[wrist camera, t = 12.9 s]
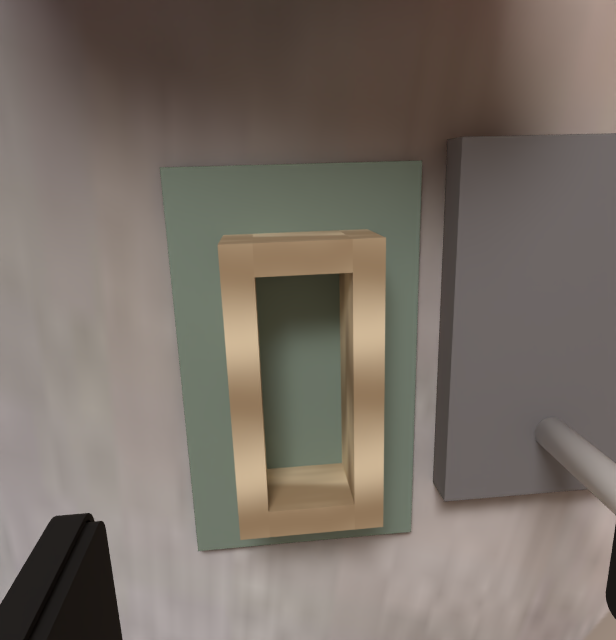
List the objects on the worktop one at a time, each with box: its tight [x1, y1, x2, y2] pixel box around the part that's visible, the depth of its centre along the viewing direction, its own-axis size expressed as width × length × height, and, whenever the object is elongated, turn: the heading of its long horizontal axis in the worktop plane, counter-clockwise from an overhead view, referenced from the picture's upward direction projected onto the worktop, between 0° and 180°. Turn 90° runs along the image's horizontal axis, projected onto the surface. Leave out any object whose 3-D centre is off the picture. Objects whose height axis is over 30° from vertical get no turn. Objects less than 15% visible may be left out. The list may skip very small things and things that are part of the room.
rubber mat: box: [160, 161, 422, 551], centre depth 29 cm, size 22×13×1 cm, turn 2°
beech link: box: [218, 229, 386, 540], centre depth 26 cm, size 15×7×4 cm, turn 2°
